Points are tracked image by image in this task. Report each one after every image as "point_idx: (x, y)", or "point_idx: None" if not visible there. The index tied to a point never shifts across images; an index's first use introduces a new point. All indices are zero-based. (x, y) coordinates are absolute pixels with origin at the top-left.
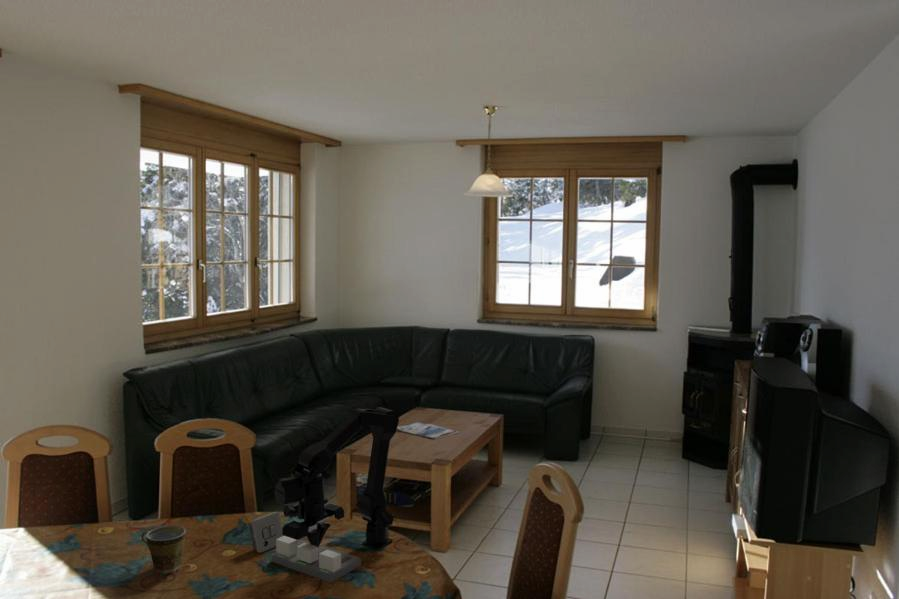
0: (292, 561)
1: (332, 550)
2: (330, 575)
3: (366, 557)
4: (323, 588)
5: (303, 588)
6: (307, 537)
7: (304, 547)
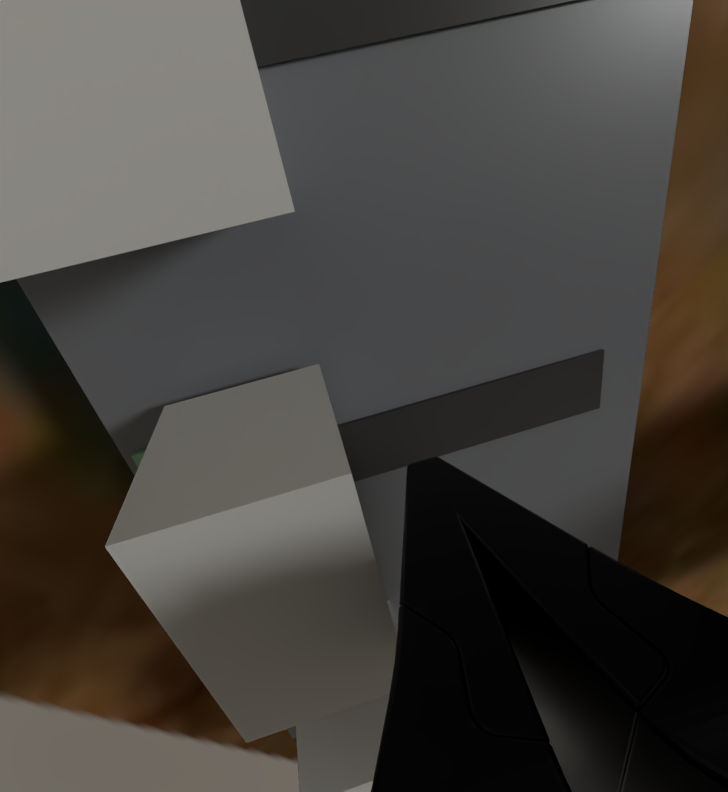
0: (93, 393)
1: (616, 414)
2: (291, 733)
3: (682, 516)
4: (208, 714)
5: (76, 680)
6: (390, 696)
7: (228, 638)
